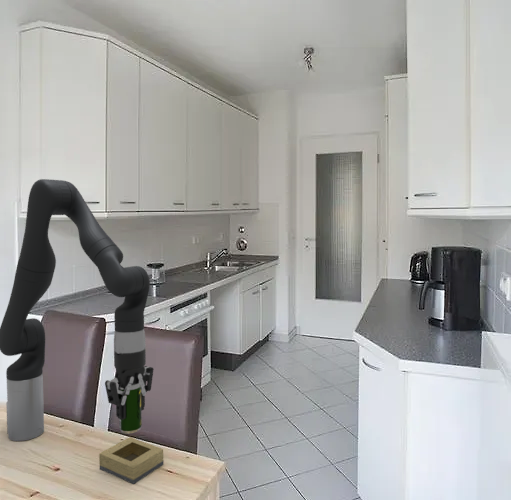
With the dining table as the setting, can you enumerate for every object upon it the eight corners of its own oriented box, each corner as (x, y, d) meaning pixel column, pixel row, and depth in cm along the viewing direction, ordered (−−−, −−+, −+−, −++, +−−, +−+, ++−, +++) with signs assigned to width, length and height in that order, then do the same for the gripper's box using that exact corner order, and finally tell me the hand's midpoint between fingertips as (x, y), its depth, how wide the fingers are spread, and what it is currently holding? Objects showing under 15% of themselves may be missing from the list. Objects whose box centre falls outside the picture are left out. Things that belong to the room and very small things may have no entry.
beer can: (123, 436, 107) (122, 387, 106) (116, 427, 111) (115, 381, 111) (144, 430, 110) (144, 383, 109) (137, 422, 114) (137, 376, 113)
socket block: (99, 469, 110) (99, 453, 110) (130, 451, 118) (130, 437, 118) (133, 484, 104) (133, 467, 103) (163, 464, 112) (163, 449, 112)
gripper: (140, 338, 117) (141, 401, 118) (95, 352, 105) (97, 421, 106) (161, 342, 113) (162, 407, 114) (117, 357, 101) (118, 429, 102)
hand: (130, 413), depth 110 cm, fingers closed on beer can, 5 cm apart
